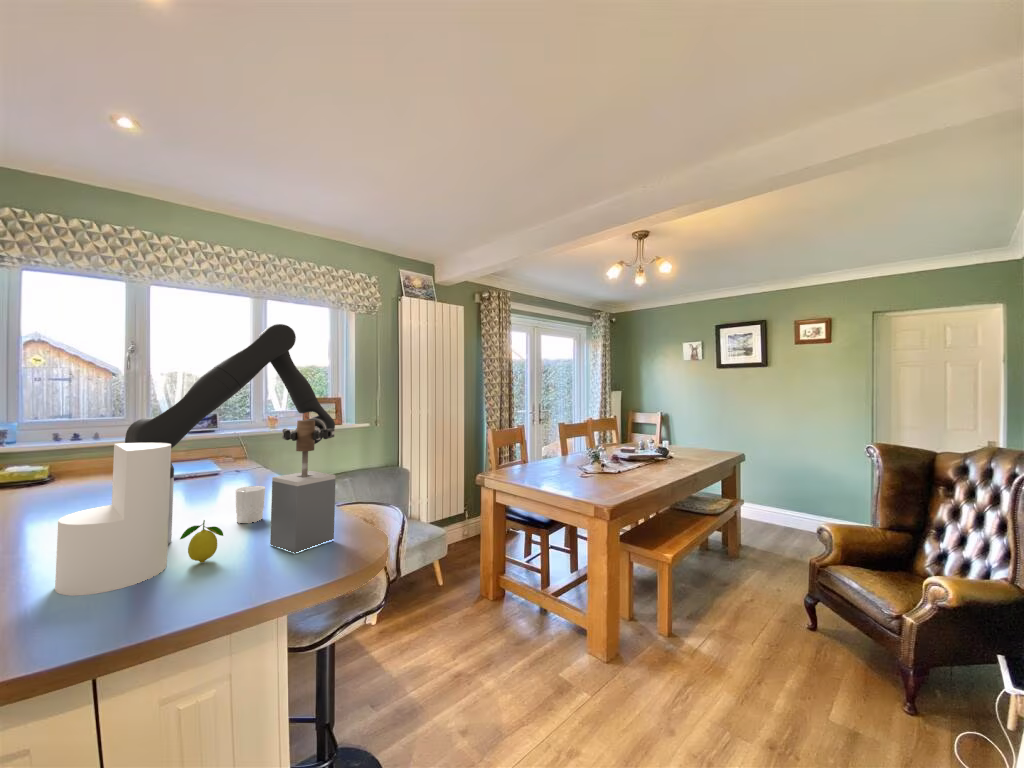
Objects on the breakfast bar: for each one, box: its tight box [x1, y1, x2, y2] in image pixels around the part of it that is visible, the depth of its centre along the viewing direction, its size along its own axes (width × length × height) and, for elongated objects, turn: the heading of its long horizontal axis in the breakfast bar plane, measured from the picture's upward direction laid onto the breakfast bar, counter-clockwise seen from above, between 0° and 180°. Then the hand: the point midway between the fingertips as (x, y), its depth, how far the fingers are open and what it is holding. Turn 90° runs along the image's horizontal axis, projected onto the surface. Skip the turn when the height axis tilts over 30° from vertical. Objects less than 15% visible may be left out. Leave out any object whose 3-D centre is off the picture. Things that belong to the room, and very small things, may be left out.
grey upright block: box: [269, 470, 337, 553], centre depth 109 cm, size 11×11×18 cm
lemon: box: [179, 519, 224, 564], centre depth 96 cm, size 7×6×10 cm
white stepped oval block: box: [54, 442, 172, 597], centre depth 89 cm, size 17×17×28 cm
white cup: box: [235, 485, 266, 524], centre depth 128 cm, size 8×8×10 cm
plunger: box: [295, 419, 316, 478], centre depth 109 cm, size 8×8×27 cm
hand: (304, 436), depth 107 cm, fingers closed on plunger, 4 cm apart
